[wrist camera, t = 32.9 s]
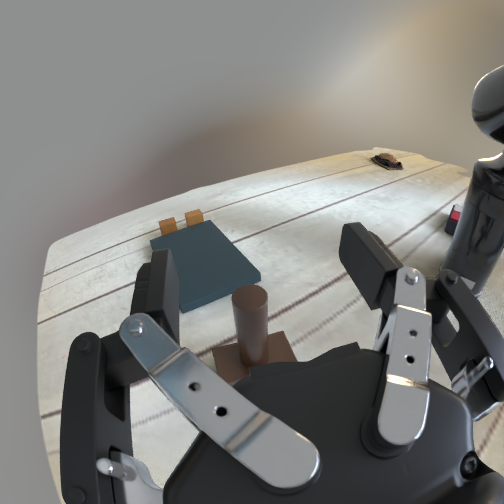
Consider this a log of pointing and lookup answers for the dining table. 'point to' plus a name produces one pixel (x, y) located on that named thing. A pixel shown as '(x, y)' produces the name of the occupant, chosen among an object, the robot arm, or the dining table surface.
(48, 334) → the dining table surface
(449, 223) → the red-topped box
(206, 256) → the tray
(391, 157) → the brown domed lump
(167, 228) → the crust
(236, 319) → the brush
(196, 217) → the brown wooden block
